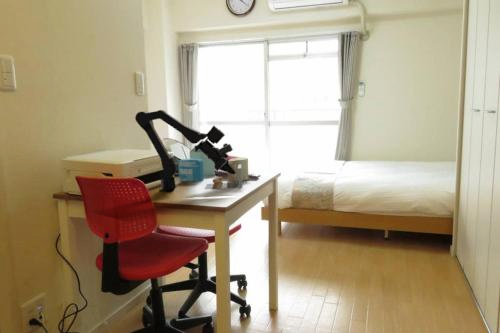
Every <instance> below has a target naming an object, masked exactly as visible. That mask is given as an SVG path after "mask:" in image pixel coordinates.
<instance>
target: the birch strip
mask: <svg viewBox="0 0 500 333" xmlns="http://www.w3.org/2000/svg"><path fill="white" fill-rule="evenodd" d="M228 161H229V165H230V166H231V168H232V169H233V170H234V171H235V174H231V173H228V172H227V183H237V175H236V160H230V159H229V160H228Z"/></svg>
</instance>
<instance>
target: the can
mask: <svg viewBox="0 0 500 333" xmlns="http://www.w3.org/2000/svg"><path fill="white" fill-rule="evenodd" d="M229 160H236V175H237V181H238V164H242V182H243V181H248V180H249V158H248V157H232V158H229Z"/></svg>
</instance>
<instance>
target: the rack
mask: <svg viewBox="0 0 500 333" xmlns="http://www.w3.org/2000/svg"><path fill="white" fill-rule="evenodd" d="M213 184H214V183H207V184H206V186H205V187H204V190H215V189H221V190H222V189H239V188H240V189H242V188H244V187H243V186H244V182H243V181H242V164H238V181H237V183H228V182H223V185H222V188H213Z"/></svg>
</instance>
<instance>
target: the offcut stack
mask: <svg viewBox="0 0 500 333" xmlns="http://www.w3.org/2000/svg"><path fill="white" fill-rule="evenodd" d="M223 183H224V181H223V176H215V177H214V178H213V179H212V184H213V188H222V185H223ZM222 189H223V188H222Z"/></svg>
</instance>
